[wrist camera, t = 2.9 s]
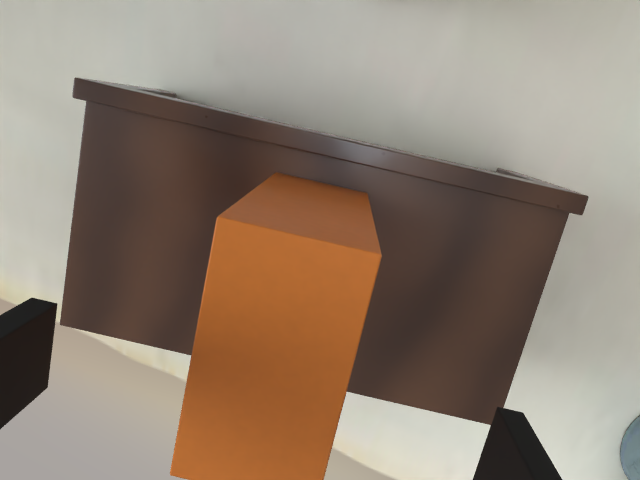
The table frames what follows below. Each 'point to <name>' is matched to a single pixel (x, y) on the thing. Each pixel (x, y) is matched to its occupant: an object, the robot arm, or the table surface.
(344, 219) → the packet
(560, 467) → the table surface
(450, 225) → the wooden bench
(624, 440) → the grey embossed plant pot
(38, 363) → the robot arm
